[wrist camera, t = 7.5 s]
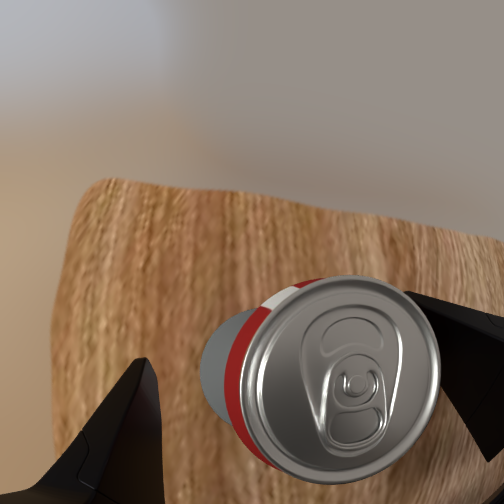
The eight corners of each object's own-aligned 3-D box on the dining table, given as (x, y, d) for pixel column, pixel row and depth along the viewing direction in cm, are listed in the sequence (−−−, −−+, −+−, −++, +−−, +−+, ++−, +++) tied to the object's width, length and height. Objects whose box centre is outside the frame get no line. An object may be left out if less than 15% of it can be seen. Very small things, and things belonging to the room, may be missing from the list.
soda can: (315, 327, 17) (439, 258, 6) (317, 409, 15) (448, 462, 4) (231, 329, 17) (222, 256, 6) (231, 413, 15) (223, 509, 4)
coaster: (348, 387, 16) (353, 388, 16) (242, 451, 14) (243, 455, 14) (287, 288, 19) (289, 284, 18) (178, 346, 17) (176, 345, 16)
